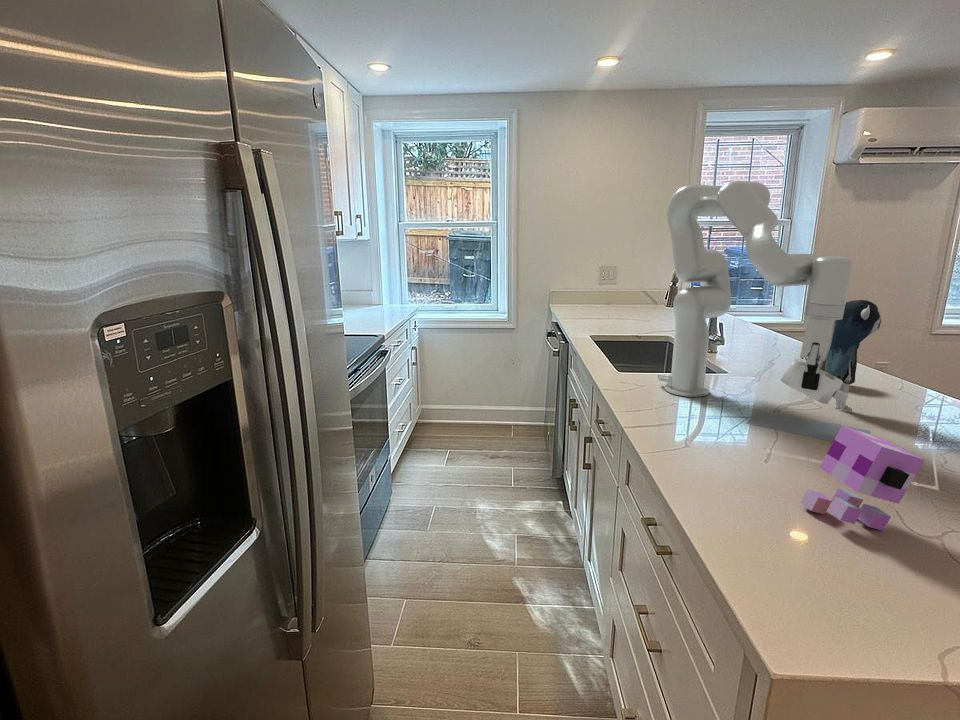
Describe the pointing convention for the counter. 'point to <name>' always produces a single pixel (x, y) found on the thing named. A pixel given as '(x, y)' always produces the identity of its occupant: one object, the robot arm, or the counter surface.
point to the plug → (826, 384)
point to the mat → (797, 425)
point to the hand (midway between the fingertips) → (810, 385)
